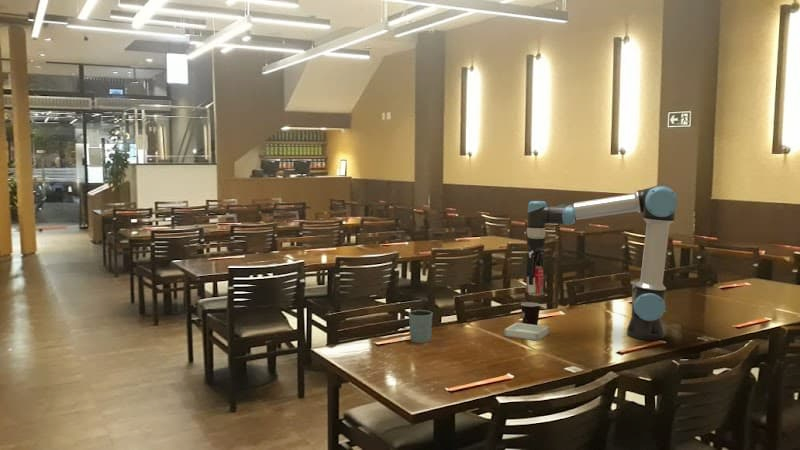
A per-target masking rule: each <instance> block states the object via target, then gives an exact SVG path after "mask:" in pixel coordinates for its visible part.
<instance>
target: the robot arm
mask: <svg viewBox="0 0 800 450" xmlns="http://www.w3.org/2000/svg"><path fill="white" fill-rule="evenodd" d="M677 196H678V195H677V194H676V192H675V191H674V190H673V189H671V187H668V186H665V185H654V186H650V187H648V188H643V189H639V190H635V192H633V193H628V194H622V195H616V196H610V197H609V196H608V197H603V198H597V199H595V198H594V199H590V200H583V201H578V202H576V201H575V202H572V203H571V202H570V203H561V204H559V205H557V206H556V205H555V206H553V205H552V206H551V205H550V206H549V205H547V202H546V201H543V200H531V201H529V203H528V206H527V226H526V232H527V233H526V234H527V238H526V246H527V247H529V248H530V249H529V250H530V251H529V252H527V255H526V256H527V260H526V271H525V272H526V273H525V277H526V278H527V277H528V292H532V293H535V277H534V275H535V268H536V266H542V269H543V273H544V274H545V272H544V265H545V264H544V252H545V250H544V249H542V248H545V247H546V238H545V237H546V225H565V226H569V225H570V226H572V225H574V224H575V223H576V221H577V220H585V219H591V218H599V217H605V216H612V215H618V214H620V215H621V214H627V213H633V212H634V213H635V212H637V213H639V214H642V213H643V215H642V216H643V217H642V219H643V220H644V222H646V225H645V233H644V234H645V235H644V243H643V244H644V246H643V252H642V262H641V271H640V279H639V281H638V282H633V284H632V288H631V290H632V291H631V295H632V296H631V317H630V320H629V323H628V326H627V328H626V335H627V336H629V337H630V338H634V339H637V340H647V341H650V340H651V341H654V340H663V339H664V338H665V335H666V334H665V328H664V325H663V323H662V319H661V318H662V317H663V315H664V314H665V311H666V308H667V307H666V303H665V301H666V293H667V292H666V291H667V287H666V286H665V285H664V274H665V265H666V259H667V250H668V241H669V240H668V239H669V232H670V226H671V224H673V223H674V222H675V217H676V210H677V208H678V205H679V198H678V197H677ZM530 273H531V274H530Z"/></svg>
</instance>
